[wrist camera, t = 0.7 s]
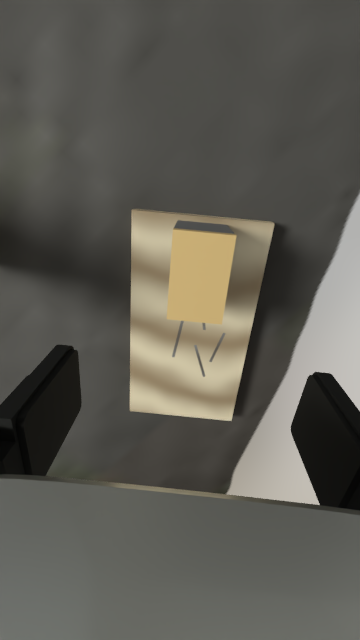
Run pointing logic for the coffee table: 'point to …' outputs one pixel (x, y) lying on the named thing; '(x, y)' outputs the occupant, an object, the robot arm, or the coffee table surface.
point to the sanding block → (199, 271)
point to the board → (190, 337)
